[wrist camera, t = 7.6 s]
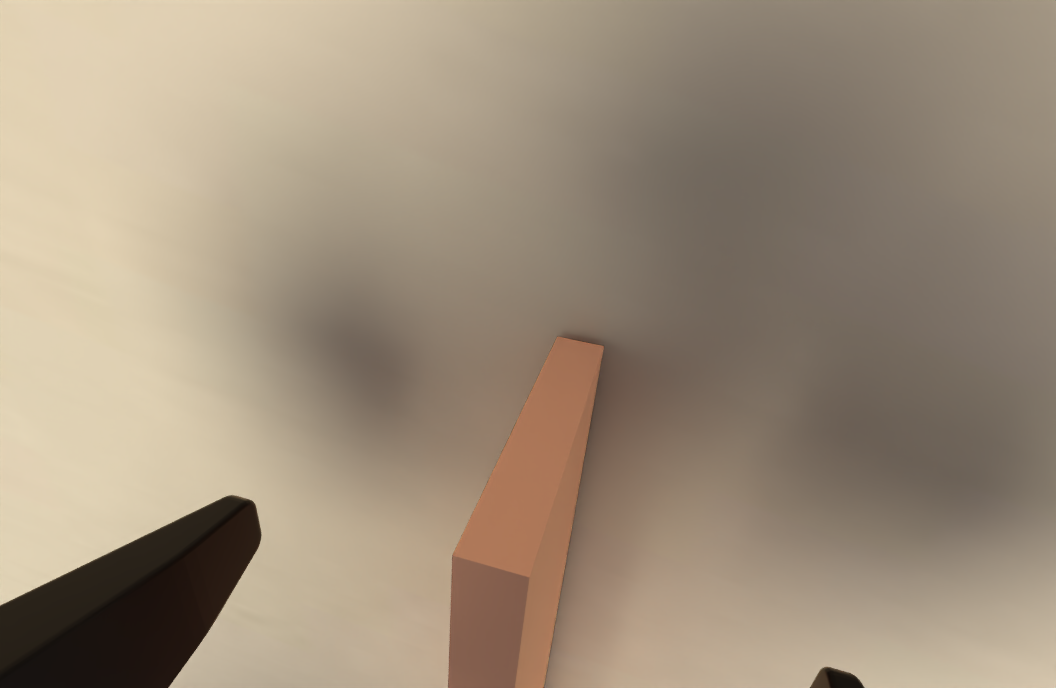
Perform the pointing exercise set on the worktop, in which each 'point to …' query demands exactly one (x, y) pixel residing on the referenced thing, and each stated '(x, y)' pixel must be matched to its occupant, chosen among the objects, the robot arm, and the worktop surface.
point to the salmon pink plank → (523, 531)
